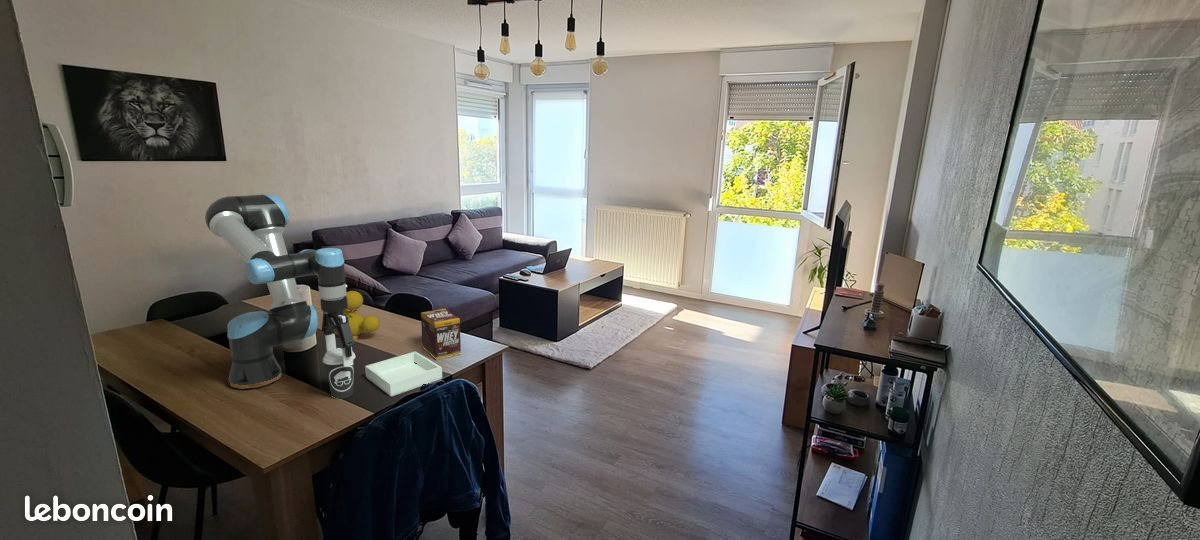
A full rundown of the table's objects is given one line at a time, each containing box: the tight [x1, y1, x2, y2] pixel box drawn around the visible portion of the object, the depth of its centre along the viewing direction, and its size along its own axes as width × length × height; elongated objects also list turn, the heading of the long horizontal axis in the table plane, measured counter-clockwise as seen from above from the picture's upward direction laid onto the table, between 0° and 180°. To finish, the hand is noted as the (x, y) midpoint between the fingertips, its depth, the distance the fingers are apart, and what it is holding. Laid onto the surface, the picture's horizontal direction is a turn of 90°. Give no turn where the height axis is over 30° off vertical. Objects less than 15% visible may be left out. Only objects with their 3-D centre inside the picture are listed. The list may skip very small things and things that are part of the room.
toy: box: [343, 290, 381, 340], centre depth 207 cm, size 26×10×20 cm, turn 63°
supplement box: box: [420, 308, 462, 359], centre depth 197 cm, size 10×15×16 cm
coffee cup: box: [322, 347, 356, 400], centre depth 161 cm, size 10×10×15 cm
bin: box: [364, 351, 443, 397], centre depth 175 cm, size 19×19×4 cm
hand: (339, 359), depth 159 cm, fingers open, 13 cm apart
